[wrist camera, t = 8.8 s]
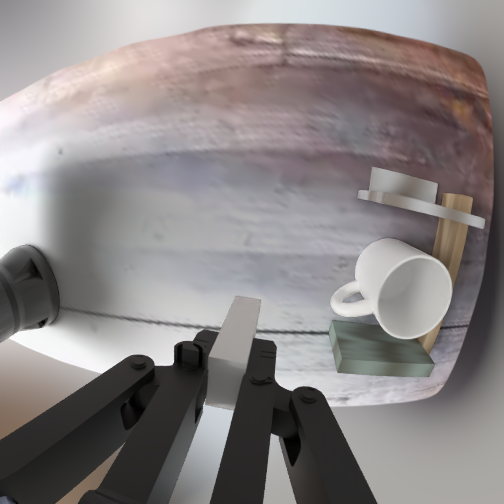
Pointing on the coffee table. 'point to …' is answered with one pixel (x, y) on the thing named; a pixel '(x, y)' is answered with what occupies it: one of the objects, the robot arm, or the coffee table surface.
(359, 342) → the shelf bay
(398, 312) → the mug
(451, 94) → the coffee table surface
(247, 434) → the robot arm
